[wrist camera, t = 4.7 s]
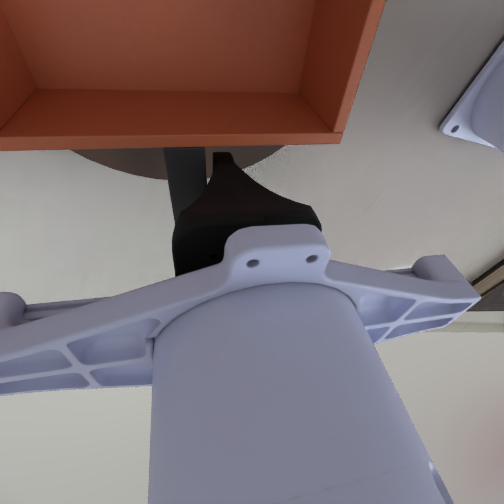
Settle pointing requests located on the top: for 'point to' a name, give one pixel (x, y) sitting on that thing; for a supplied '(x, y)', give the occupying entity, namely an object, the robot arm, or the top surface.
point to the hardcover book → (490, 290)
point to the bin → (180, 76)
